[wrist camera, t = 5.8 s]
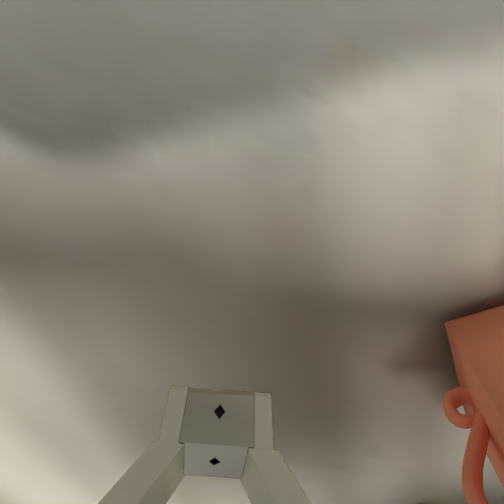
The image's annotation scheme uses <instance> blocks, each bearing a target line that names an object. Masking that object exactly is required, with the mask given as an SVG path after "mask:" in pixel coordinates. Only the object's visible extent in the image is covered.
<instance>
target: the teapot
mask: <svg viewBox="0 0 504 504" xmlns="http://www.w3.org/2000/svg"><path fill="white" fill-rule="evenodd" d="M444 323H445V327H446V331H447V336H448V340H449V344H450V349H451V353H452V357H453V362H454V366H455V371H456V375H457V379H458V383H459V387H455V388H453V389H451V390H449V391H448V392H447V393H446V394H445V396H444V399H443V410H444V413H445V415H446V417H447V418H448V420H449V421H450V422H451V423H452V424H454V425H455V426H457V427H460V428H467V429H468V428H471V430H470V434H469V438H468V442H467V446H466V450H465V455H464V460H463V467H462V484H463V491H464V495H465V498H466V501H467V503H468V504H488V503H487V501H486V499H485V495H484V490H483V467H484V461H485V456H486V454H487V456H488V458H489V460H490V462H491V463H492V465H493V467H494V469H495V471H496V473H497V475H498V477H499V479H500V481H501V483H502V484H503V486H504V305H502V306H498V307H495V308H491V309H488V310H484V311H481V312H477V313H474V314H471V315H467V316H464V317H460V318H457V319H453V320H450V321H447V322H444ZM462 405H464V410H465V414H466V415H463V414H460V413H459V412H458V411H457V410H456V409H457V408H458V407H459V406H462Z"/></svg>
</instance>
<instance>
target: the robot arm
mask: <svg viewBox="0 0 504 504" xmlns="http://www.w3.org/2000/svg"><path fill="white" fill-rule="evenodd" d="M183 475H189V476H214V477H225V478H236V479H241V482H242V484H243V486H244V488H245V491H246V493H247V495H248V497H249V500H250V502H251V504H311V502H310V501H309V499H308V498H307V496H306V494H305V493H304V491H303V489H302V488H301V486H300V485H299V483H298V481H297V480H296V478H295V476H294V475H293V473H292V471H291V470H290V468H289V467H288V465H287V463H286V462H285V460H284V458H283V457H282V455H281V454H280V452H279V450H274V446H273V424H272V401H271V396H270V393H258V392H254V393H253V392H249V391H233V390H215V389H203V388H191V387H183V386H172V387H171V390H170V393H169V397H168V402H167V406H166V410H165V415H164V419H163V424H162V428H161V432H160V437H159V441H158V442H152V444H151V445H150V446H149V447H148V448H147V449H146V450H145V451H144V453H143V454H142V455H141V456H140V457H139V458H138V459H137V460H136V462H135V463H134V464H133V465H132V466H131V467H130V468H129V469H128V471H127V472H126V473H125V474H124V475H123V476H122V477H121V478H120V480H119V481H118V482H117V483H116V484H115V485H114V486H113V488H112V489H111V490H110V491H109V492H108V493H107V494H106V495H105V497H104V498H103V499H102V500H101V501H100V502H99V503H98V504H166V502H167V501H168V499H169V498H170V496H171V495H172V493H173V492H174V490H175V489H176V487H177V486H178V484H179V483H180V482H181V480H182V479H183Z"/></svg>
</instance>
